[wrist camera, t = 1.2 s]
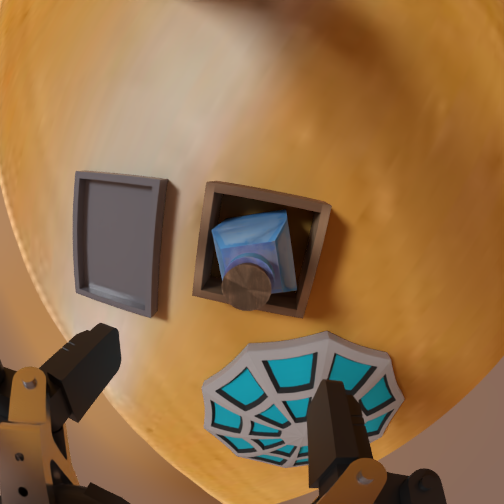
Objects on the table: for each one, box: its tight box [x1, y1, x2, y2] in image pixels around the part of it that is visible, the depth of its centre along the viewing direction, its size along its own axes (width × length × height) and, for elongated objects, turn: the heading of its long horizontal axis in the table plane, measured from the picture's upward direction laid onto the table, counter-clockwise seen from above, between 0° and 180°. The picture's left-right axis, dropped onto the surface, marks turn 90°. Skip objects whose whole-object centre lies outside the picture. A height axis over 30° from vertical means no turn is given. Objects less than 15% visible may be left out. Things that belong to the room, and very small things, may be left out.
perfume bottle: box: [212, 209, 297, 311], centre depth 23 cm, size 6×6×12 cm
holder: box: [192, 181, 332, 318], centre depth 27 cm, size 11×11×4 cm
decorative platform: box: [202, 331, 405, 468], centre depth 33 cm, size 31×29×5 cm
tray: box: [73, 171, 168, 318], centre depth 29 cm, size 16×12×2 cm
